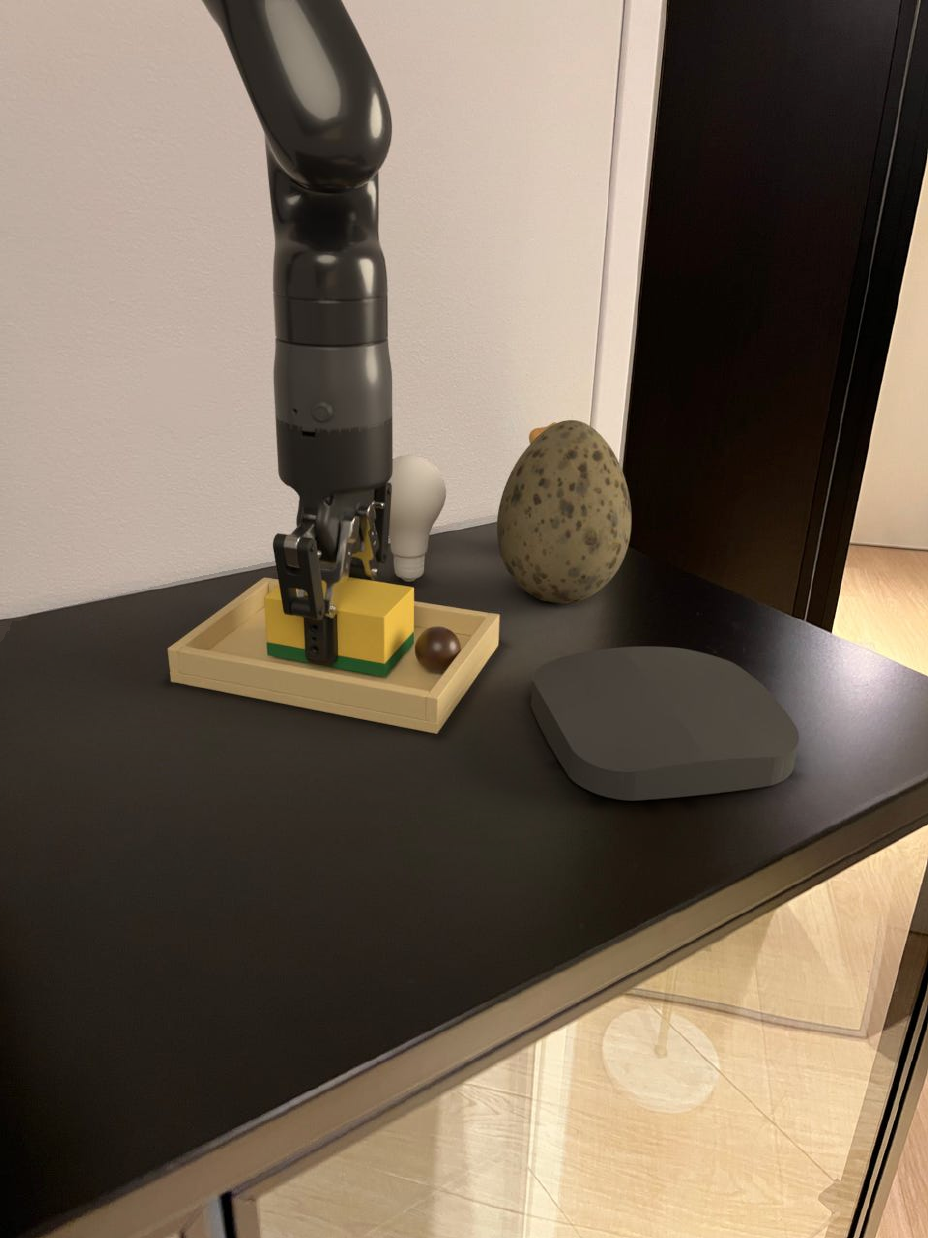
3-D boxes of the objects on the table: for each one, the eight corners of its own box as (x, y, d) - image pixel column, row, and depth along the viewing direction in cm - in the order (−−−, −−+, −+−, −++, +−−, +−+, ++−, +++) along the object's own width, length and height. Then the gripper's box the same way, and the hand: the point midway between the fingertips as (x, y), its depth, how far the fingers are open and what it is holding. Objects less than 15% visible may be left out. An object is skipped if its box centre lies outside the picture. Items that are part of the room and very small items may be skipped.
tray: (170, 682, 70) (166, 648, 69) (266, 606, 82) (264, 576, 81) (437, 734, 65) (437, 698, 64) (498, 645, 77) (499, 614, 75)
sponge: (266, 655, 72) (263, 597, 70) (302, 624, 76) (299, 568, 75) (384, 677, 69) (384, 617, 67) (414, 643, 74) (414, 587, 72)
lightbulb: (458, 585, 87) (461, 460, 82) (396, 600, 84) (396, 471, 79) (420, 562, 91) (421, 442, 87) (360, 576, 88) (358, 452, 84)
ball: (431, 629, 68) (462, 664, 68) (446, 610, 71) (475, 645, 71) (399, 653, 70) (429, 688, 70) (414, 634, 72) (444, 668, 73)
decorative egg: (644, 620, 81) (663, 435, 75) (514, 631, 79) (522, 441, 73) (597, 570, 91) (611, 402, 84) (480, 578, 88) (485, 406, 82)
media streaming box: (582, 813, 57) (586, 768, 56) (516, 689, 70) (518, 651, 69) (817, 788, 60) (826, 744, 59) (713, 673, 73) (718, 636, 72)
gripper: (329, 382, 73) (336, 598, 80) (224, 428, 60) (243, 679, 67) (427, 392, 71) (425, 613, 78) (339, 442, 58) (346, 699, 65)
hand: (340, 643), depth 73 cm, fingers closed on sponge, 5 cm apart
